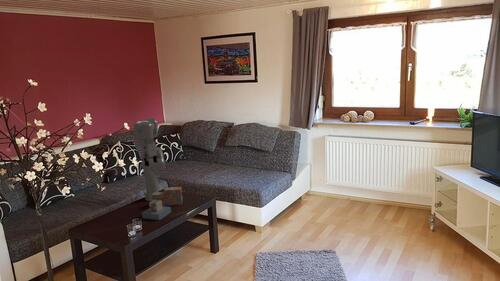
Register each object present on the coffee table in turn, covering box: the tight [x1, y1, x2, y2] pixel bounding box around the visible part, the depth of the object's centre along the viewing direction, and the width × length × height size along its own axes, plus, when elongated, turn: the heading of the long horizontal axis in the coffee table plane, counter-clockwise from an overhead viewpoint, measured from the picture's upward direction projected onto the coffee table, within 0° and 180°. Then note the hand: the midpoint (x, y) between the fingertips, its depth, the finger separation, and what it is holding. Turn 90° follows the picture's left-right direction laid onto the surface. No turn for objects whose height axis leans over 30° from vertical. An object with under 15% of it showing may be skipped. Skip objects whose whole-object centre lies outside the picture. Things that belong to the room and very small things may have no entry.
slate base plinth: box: [141, 206, 172, 221], centre depth 263 cm, size 14×14×4 cm
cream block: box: [148, 200, 163, 212], centre depth 262 cm, size 6×6×6 cm
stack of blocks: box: [152, 186, 184, 207], centre depth 283 cm, size 21×6×12 cm, turn 92°
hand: (151, 164), depth 271 cm, fingers open, 9 cm apart
